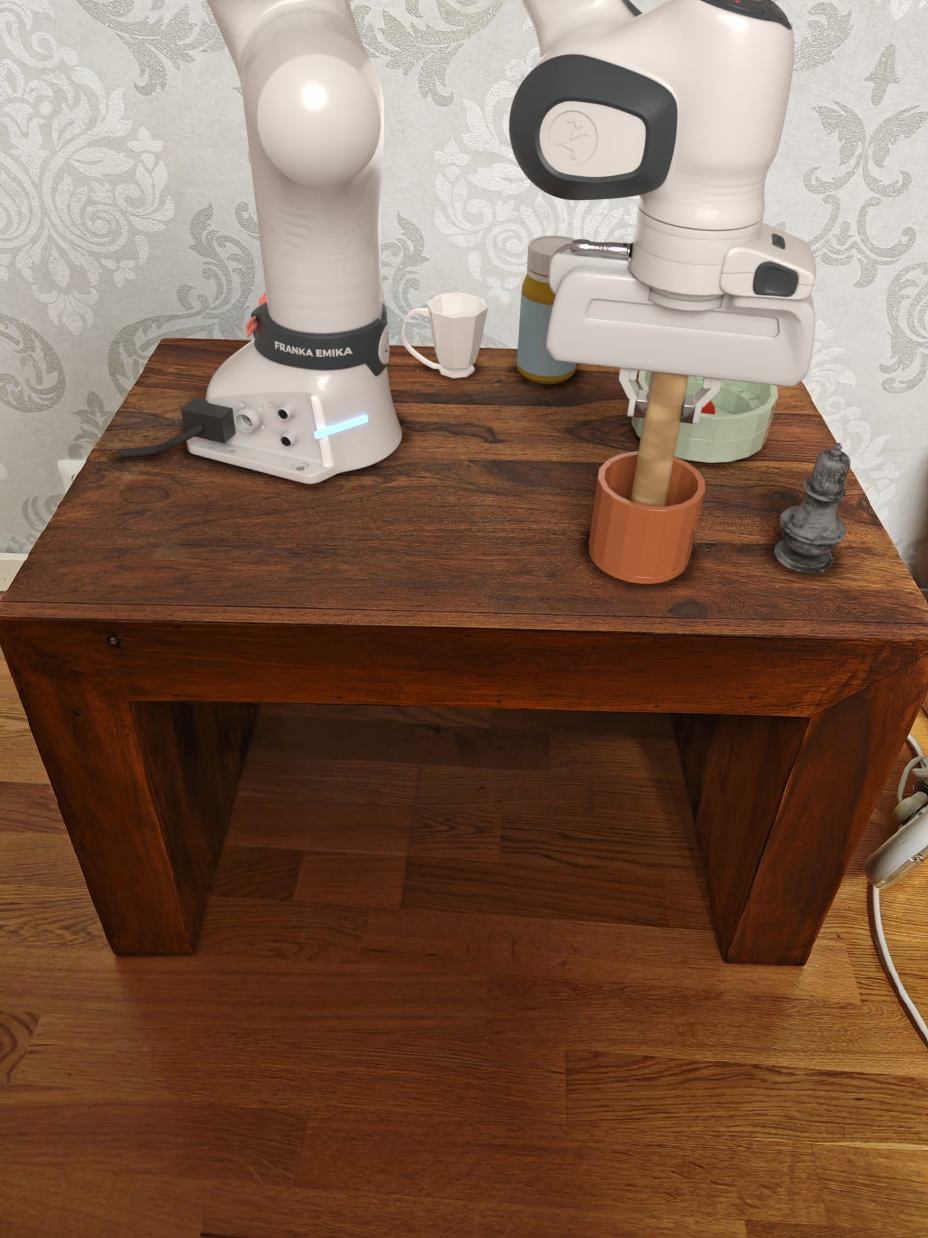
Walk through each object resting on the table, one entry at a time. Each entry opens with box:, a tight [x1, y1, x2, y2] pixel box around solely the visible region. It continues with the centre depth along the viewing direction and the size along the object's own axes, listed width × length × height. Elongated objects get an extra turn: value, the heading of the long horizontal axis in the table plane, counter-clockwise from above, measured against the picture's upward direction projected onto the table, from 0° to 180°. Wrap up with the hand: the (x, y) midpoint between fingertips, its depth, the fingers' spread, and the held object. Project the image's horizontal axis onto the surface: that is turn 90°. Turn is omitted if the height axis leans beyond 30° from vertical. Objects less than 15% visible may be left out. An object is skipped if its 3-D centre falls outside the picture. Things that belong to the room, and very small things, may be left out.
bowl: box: [631, 370, 779, 464], centre depth 104 cm, size 14×14×6 cm
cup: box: [400, 291, 489, 379], centre depth 113 cm, size 7×10×8 cm
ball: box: [701, 401, 715, 415], centre depth 104 cm, size 3×3×3 cm
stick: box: [631, 371, 689, 507], centre depth 82 cm, size 3×3×18 cm
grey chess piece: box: [773, 442, 852, 574], centre depth 86 cm, size 6×6×12 cm
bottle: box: [516, 235, 577, 385], centre depth 110 cm, size 7×7×15 cm
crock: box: [587, 450, 706, 585], centre depth 87 cm, size 9×9×8 cm
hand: (662, 417), depth 80 cm, fingers closed on stick, 3 cm apart
